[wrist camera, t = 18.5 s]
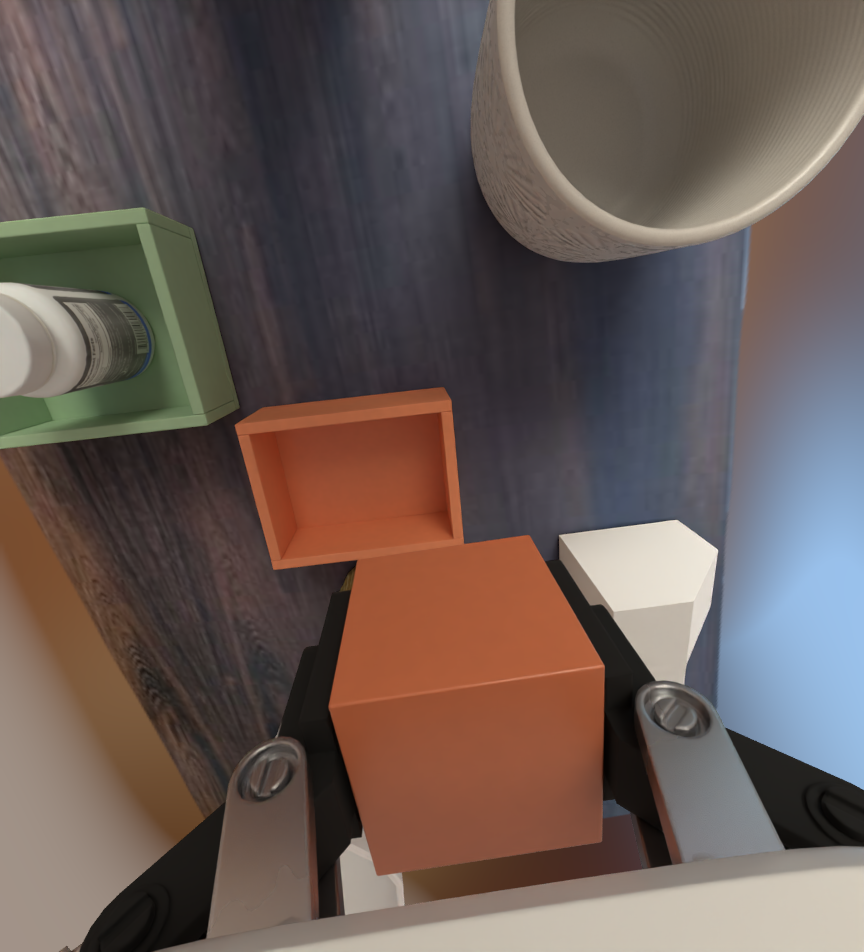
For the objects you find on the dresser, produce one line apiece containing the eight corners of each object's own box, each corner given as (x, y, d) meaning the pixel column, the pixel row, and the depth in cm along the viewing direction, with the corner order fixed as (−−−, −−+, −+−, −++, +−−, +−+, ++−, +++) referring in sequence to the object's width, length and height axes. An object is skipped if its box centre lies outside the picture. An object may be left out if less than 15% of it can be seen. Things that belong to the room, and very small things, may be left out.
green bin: (-20, 250, 23) (-121, 234, 18) (193, 228, 23) (144, 206, 19) (55, 429, 26) (-15, 451, 22) (240, 408, 26) (208, 425, 22)
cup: (395, 792, 38) (391, 967, 28) (251, 784, 37) (191, 966, 27) (415, 684, 34) (420, 843, 24) (254, 671, 33) (185, 834, 22)
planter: (571, -84, 20) (753, -526, 9) (735, 126, 23) (1007, -32, 12) (406, 167, 22) (408, 40, 12) (573, 322, 26) (684, 325, 15)
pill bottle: (58, 356, 24) (-111, 374, 16) (77, 274, 23) (-97, 250, 15) (145, 394, 25) (26, 429, 17) (168, 317, 24) (51, 317, 16)
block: (356, 558, 11) (326, 706, 7) (529, 534, 11) (605, 665, 7) (385, 690, 13) (376, 877, 8) (537, 668, 13) (602, 843, 8)
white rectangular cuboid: (560, 695, 36) (605, 803, 28) (559, 535, 30) (613, 612, 22) (661, 681, 36) (735, 785, 28) (677, 519, 30) (773, 590, 22)
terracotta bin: (262, 407, 26) (234, 424, 22) (443, 386, 26) (451, 399, 22) (292, 533, 29) (273, 570, 25) (455, 513, 29) (464, 547, 25)
